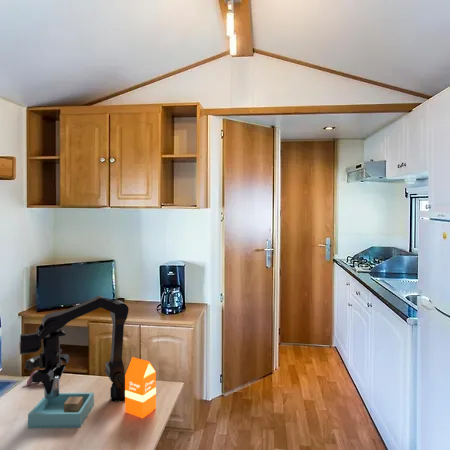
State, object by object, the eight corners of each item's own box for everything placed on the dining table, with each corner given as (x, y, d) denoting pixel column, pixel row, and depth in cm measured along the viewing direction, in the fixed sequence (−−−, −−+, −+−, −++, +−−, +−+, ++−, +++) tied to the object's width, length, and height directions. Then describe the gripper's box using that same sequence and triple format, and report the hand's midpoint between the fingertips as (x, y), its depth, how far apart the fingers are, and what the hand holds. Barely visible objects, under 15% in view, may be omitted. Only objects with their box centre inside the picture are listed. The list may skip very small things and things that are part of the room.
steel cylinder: (61, 392, 137) (61, 373, 137) (55, 398, 132) (55, 380, 132) (48, 392, 137) (47, 374, 137) (41, 399, 132) (41, 380, 132)
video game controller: (51, 387, 161) (55, 370, 164) (46, 387, 157) (50, 369, 159) (30, 386, 162) (34, 369, 165) (24, 386, 157) (29, 368, 160)
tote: (93, 405, 143) (93, 392, 143) (80, 427, 128) (80, 413, 128) (47, 405, 142) (47, 393, 142) (28, 428, 127) (28, 414, 127)
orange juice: (142, 418, 134) (142, 365, 133) (124, 412, 138) (124, 360, 138) (156, 408, 141) (156, 357, 140) (138, 402, 145) (138, 353, 144)
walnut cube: (82, 409, 138) (82, 396, 138) (77, 417, 133) (77, 403, 133) (69, 409, 138) (69, 396, 138) (64, 417, 133) (63, 403, 133)
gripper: (41, 339, 143) (41, 378, 144) (15, 359, 125) (16, 403, 125) (69, 339, 144) (70, 378, 144) (48, 358, 125) (49, 403, 126)
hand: (52, 390), depth 135 cm, fingers closed on steel cylinder, 5 cm apart
